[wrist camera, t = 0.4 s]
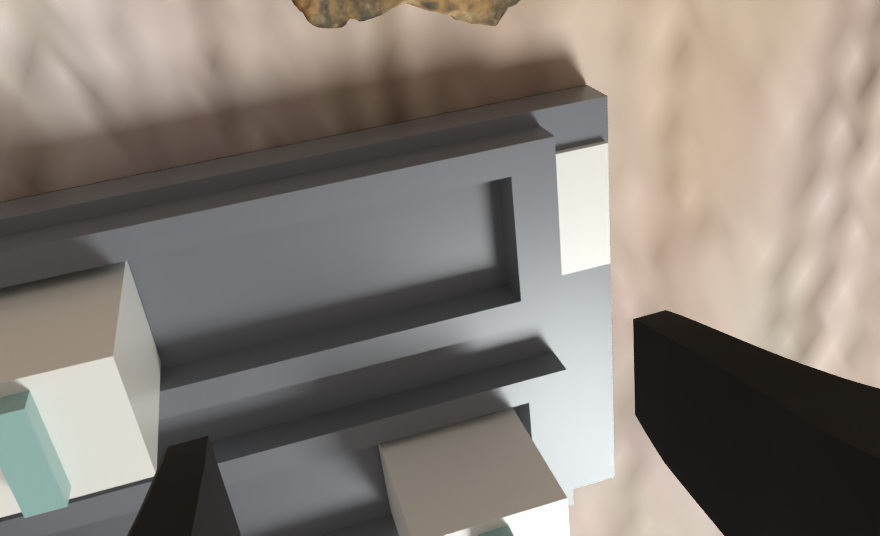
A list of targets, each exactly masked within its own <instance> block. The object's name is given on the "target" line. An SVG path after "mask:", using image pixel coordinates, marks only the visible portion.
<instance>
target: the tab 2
mask: <svg viewBox="0 0 880 536" xmlns="http://www.w3.org/2000/svg"><path fill="white" fill-rule="evenodd" d="M378 447H379V452H380V458H381V463H382V468H383V473H384V478H385V484H386V489H387V494H388V499H389V504H390V509H391V512H392V516H393V519H394V522H395V525H396V528H397V531H398V534H399V536H570V532H569V514H568V498H567V496H566V495H565V493H564V491H563V490H562V488H561V486H560V485H559V483H558V481H557V480H556V478H555V477H554V475H553V473H552V472H551V470H550V468H549V467H548V465H547V463H546V462H545V460H544V458H543V457H542V455H541V454H540V452H539V450H538V449H537V447H536V445H535V444H534V442H533V440H532V439H531V437H530V435H529V434H528V432H527V430H526V429H525V427H524V426H523V424H522V422H521V421H520V419H519V417H518V416H517V414H516V412H515V411H514V409H513V407H512V408H508V409H504V410H501V411H497V412H493V413H490V414H486V415H483V416H479V417H475V418H472V419H468V420H464V421H461V422H457V423H454V424H450V425H446V426H443V427H439V428H435V429H432V430H428V431H424V432H421V433H417V434H414V435H410V436H406V437H403V438H399V439H395V440H392V441H388V442H385V443H381V444H378Z"/></svg>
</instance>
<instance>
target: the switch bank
mask: <svg viewBox="0 0 880 536" xmlns="http://www.w3.org/2000/svg"><path fill="white" fill-rule="evenodd" d="M123 261H128V264H129V267H130V270H131V273H132V276H133V279H134V282H135V285H136V288H137V291H138V294H139V297H140V300H141V303H142V306H143V309H144V312H145V315H146V318H147V321H148V324H149V327H150V330H151V333H152V336H153V339H154V342H155V345H156V348H157V351H158V355H159V358H160V361H161V370H160V397H159V424H158V450H157V468H158V465H159V463H160V460H161V458H162V455H163V454H164V452H165V451H166V449H167V448H168V447H169V446H172V445H176V444H180V443H183V442H187V441H190V440H194V439H198V438H201V437H205V436H208V437H209V440H210V443H211V446H212V449H213V452H214V455H215V458H216V461H217V464H218V467H219V470H220V473H221V476H222V479H223V482H224V485H225V488H226V491H227V494H228V497H229V500H230V503H231V506H232V509H233V512H234V515H235V518H236V521H237V524H238V527H239V530H240V534H241V536H399V534H398V531H397V528H396V525H395V522H394V519H393V516H392V512H391V509H390V504H389V499H388V494H387V489H386V484H385V478H384V473H383V468H382V463H381V458H380V452H379V447H378V444H381V443H385V442H388V441H392V440H395V439H399V438H403V437H406V436H410V435H414V434H417V433H421V432H424V431H428V430H432V429H435V428H439V427H443V426H446V425H450V424H454V423H457V422H461V421H464V420H468V419H472V418H475V417H479V416H483V415H486V414H490V413H493V412H497V411H501V410H504V409H508V408H512V407H513V409H514V411H515V412H516V414H517V416H518V417H519V419H520V421H521V422H522V424H523V426H524V427H525V429H526V430H527V432H528V434H529V435H530V437H531V439H532V440H533V442H534V444H535V445H536V447H537V449H538V450H539V452H540V454H541V455H542V457H543V458H544V460H545V462H546V463H547V465H548V467H549V468H550V470H551V472H552V473H553V475H554V477H555V478H556V480H557V481H558V483H559V485H560V486H561V488H562V490H563V491H564V493H565V495H566V496H567V498H568V506H570V505H573V489H576V488H579V487H582V486H586V485H589V484H592V483H596V482H599V481H602V480H606V479H609V478H612V477H614V429H613V376H612V323H611V270H610V218H609V165H608V112H607V96H606V95H604V94H603V93H601V92H599V91H597V90H595V89H594V88H592V87H590V86H588V85H585V86H580V87H575V88H570V89H565V90H560V91H555V92H550V93H545V94H540V95H535V96H530V97H525V98H520V99H515V100H510V101H505V102H500V103H495V104H490V105H485V106H480V107H475V108H470V109H465V110H460V111H455V112H450V113H445V114H440V115H435V116H430V117H425V118H420V119H415V120H410V121H405V122H400V123H395V124H390V125H385V126H380V127H375V128H370V129H365V130H360V131H355V132H350V133H345V134H340V135H335V136H330V137H325V138H320V139H315V140H310V141H305V142H300V143H295V144H290V145H285V146H280V147H275V148H270V149H265V150H260V151H255V152H250V153H245V154H240V155H235V156H230V157H225V158H220V159H215V160H210V161H205V162H200V163H195V164H190V165H185V166H180V167H175V168H170V169H165V170H160V171H155V172H150V173H145V174H140V175H135V176H130V177H125V178H120V179H115V180H110V181H105V182H100V183H95V184H90V185H85V186H80V187H75V188H70V189H65V190H60V191H55V192H50V193H45V194H40V195H35V196H30V197H25V198H20V199H15V200H10V201H5V202H0V288H4V287H9V286H13V285H18V284H23V283H27V282H32V281H36V280H41V279H45V278H50V277H55V276H59V275H64V274H68V273H73V272H78V271H82V270H87V269H91V268H96V267H100V266H105V265H110V264H114V263H119V262H123ZM153 478H154V477H150V478H147V479H143V480H139V481H135V482H132V483H128V484H124V485H121V486H117V487H113V488H109V489H106V490H102V491H98V492H95V493H91V494H87V495H83V496H80V497H76V498H72V499H69V503H68V507H64V508H61V509H57V510H53V511H49V512H46V513H42V514H38V515H35V516H31V517H27V518H24V516H23V514H22V512H20V513H16V514H13V515H9V516H5V517H2V518H0V536H127V534H128V532H129V530H130V528H131V526H132V524H133V522H134V520H135V518H136V516H137V514H138V512H139V510H140V507H141V505H142V503H143V501H144V499H145V496H146V494H147V492H148V490H149V487H150V485H151V483H152V480H153Z"/></svg>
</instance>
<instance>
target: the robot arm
mask: <svg viewBox="0 0 880 536" xmlns="http://www.w3.org/2000/svg"><path fill="white" fill-rule="evenodd" d="M633 328H634V377H635V415H636V417H637V418H638V420H639V422H640V424H641V425H642V427H643V429H644V430H645V432H646V434H647V435H648V437H649V439H650V441H651V442H652V444H653V445H654V447H655V448H656V450H657V452H658V453H659V455H660V456H661V458H662V459H663V461H664V462H665V464H666V465H667V466H668V468H669V469H670V470H671V471H672V473H673V474H674V475H675V476H676V478H677V479H678V480H679V481H680V482H681V484H682V485H683V486H684V487H685V489H686V490H687V491H688V492H689V494H690V495H691V496H692V497H693V498H694V500H695V501H696V502H697V503H698V504H699V506H700V507H701V508H702V509H703V510H704V512H705V513H706V514H707V515H708V517H709V518H710V519H711V520H712V521H713V523H714V524H715V525H716V526H717V527H718V529H719V530H720V531H721V532H722V533H723V535H724V536H880V389H879V388H875V387H871V386H868V385H864V384H861V383H857V382H854V381H851V380H847V379H844V378H841V377H838V376H835V375H832V374H829V373H826V372H824V371H821V370H818V369H815V368H812V367H809V366H806V365H803V364H801V363H798V362H795V361H793V360H790V359H787V358H785V357H782V356H779V355H777V354H774V353H772V352H769V351H767V350H764V349H762V348H759V347H757V346H754V345H752V344H749V343H747V342H744V341H742V340H740V339H737V338H735V337H732V336H730V335H728V334H725V333H723V332H720V331H718V330H716V329H713V328H711V327H708V326H706V325H703V324H701V323H699V322H696V321H694V320H691V319H689V318H686V317H684V316H681V315H678V314H675V313H672V312H670V311H666V310H665V311H661V312H658V313H654V314H650V315H647V316H643V317H639V318H636V319H633ZM127 536H241V534H240V530H239V527H238V524H237V521H236V518H235V515H234V512H233V509H232V506H231V503H230V500H229V497H228V494H227V491H226V488H225V485H224V482H223V479H222V476H221V473H220V470H219V467H218V464H217V461H216V458H215V455H214V452H213V449H212V446H211V443H210V440H209V437H208V436H205V437H201V438H198V439H194V440H190V441H187V442H183V443H180V444H176V445H172V446H169V447H168V448H167V449H166V451H165V452H164V454H163V455H162V458H161V460H160V463H159V465H158V468H157V470H156V473H155V475H154V478H153V480H152V483H151V485H150V487H149V490H148V492H147V494H146V496H145V499H144V501H143V503H142V505H141V507H140V510H139V512H138V514H137V516H136V518H135V520H134V522H133V524H132V526H131V528H130V530H129V532H128V534H127Z"/></svg>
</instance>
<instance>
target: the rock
mask: <svg viewBox="0 0 880 536" xmlns="http://www.w3.org/2000/svg"><path fill="white" fill-rule="evenodd" d="M292 1H293V3H294V5H295V6H296V7H297V8H298V9H299V10H300V11H301V12H303V14H304V15H305V17H306V19H307V20H308V21H309V22H310V23H311V24H312V25H314V26H316V27H320V28H340V27H343V26H344V25H346V23H347V21H348V20H349V19H356V20H358V21H365V20H368V19H371V18H374V17H377V16H380V15H382V14H383V13H385V12H387V11H388V10H390V9H392V8H393V7H395V6H398V5H400V4H403V3H407V4H411V5H413V6H416V7H419V8H422V9H425V10H429V11H435V12H439V13H443V14H448V15H450V16H452V17H453V18H454V19H456V20H463V21H466V22H469V23H472V24H483V25H489V26H496V25H497V24H498V22H499V21H500V19H501V18H502V16H503V15H504V13H505V12H506V10H507V9H508V7H511V6H514V5H516V4H517V3H518V2H519V1H520V0H292Z"/></svg>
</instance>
